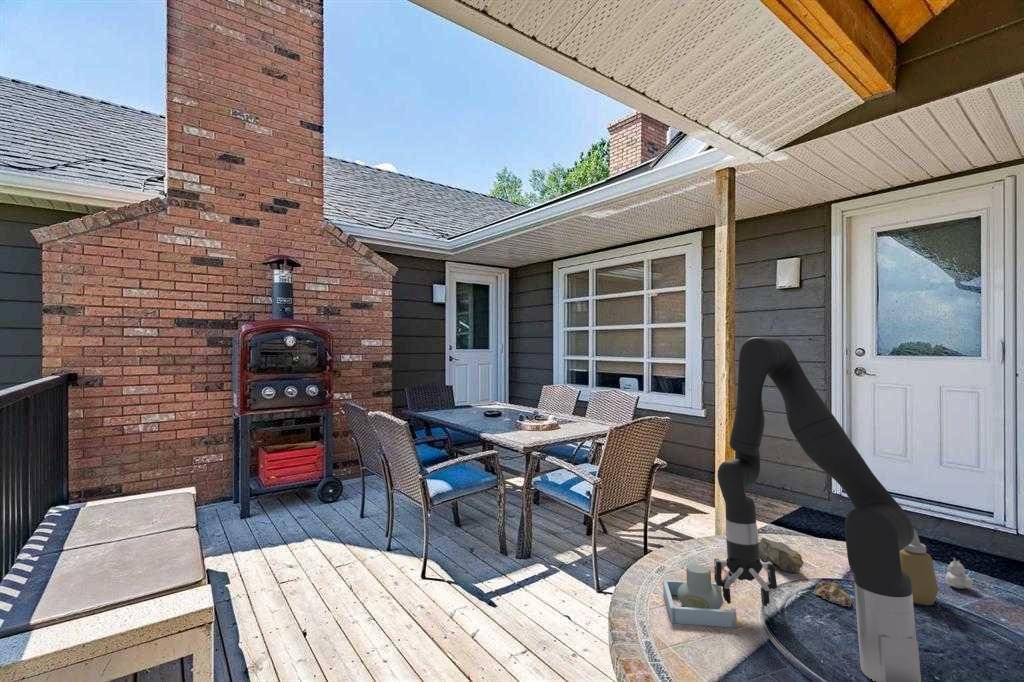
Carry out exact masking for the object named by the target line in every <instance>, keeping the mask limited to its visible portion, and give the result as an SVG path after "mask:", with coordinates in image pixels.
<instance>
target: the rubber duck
mask: <svg viewBox="0 0 1024 682" xmlns="http://www.w3.org/2000/svg"><path fill="white" fill-rule="evenodd" d="M947 568H948V571H947V572H946V573H945V581H946V583H947V584H948V585H949V586H950V587H952V588H956V589H957V590H958V589H960V590H961V589H962V590H963V589H972V588H973V582H974V579H972V578H971V577H970V576H968V575H967V574H965V572H966V570H965V567H964V565H963V564H962V563H961V562H960V561H959V560H956V558H955V557H953V561H951V562H950V563H949V565H948V566H947Z"/></svg>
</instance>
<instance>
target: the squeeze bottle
mask: <svg viewBox="0 0 1024 682" xmlns="http://www.w3.org/2000/svg"><path fill="white" fill-rule="evenodd" d="M899 553H900V561H901V569H902V572H904V573H905V574H907V575H908V576H909V577H910V579H911V583H912V594H913V604H918V605H924V606H932V605H934V603H935V601H936V598H937V595H938V593H939V587H938V582H937V577H936V572H935V568H934V562H933V557H932V556H931V555H930V554H929V553H927V546H926V545H925V544H924V543H921V540H920V538H919V535H918V532H917V529H914V538H913V541H912V542H911V543H910V544H909V545H908V546H906V547H904V548H902V549H900V550H899Z"/></svg>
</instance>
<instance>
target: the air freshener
mask: <svg viewBox="0 0 1024 682" xmlns="http://www.w3.org/2000/svg"><path fill="white" fill-rule="evenodd" d="M685 570H686V581H687V582H685V583H683V584H682V585H681V586H680V587H679V589H678V592H677V595H676V596H677V599H678V601H679V602H680V603H681V604H682V607H691V608H706V609H721V607H722V605H723V604H724V603H723V602H724V597H723V594H722V595H721V593H720V592H719V590H718V589H717V588H716V587H714V586H713V585H711V582H712V574H711V572H712V571H711V570H710V568H708V567H707V566H704V565H702V564H690V565H688V566H687V567H686V569H685Z"/></svg>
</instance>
